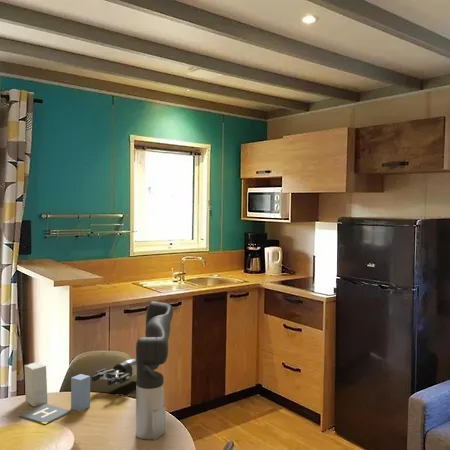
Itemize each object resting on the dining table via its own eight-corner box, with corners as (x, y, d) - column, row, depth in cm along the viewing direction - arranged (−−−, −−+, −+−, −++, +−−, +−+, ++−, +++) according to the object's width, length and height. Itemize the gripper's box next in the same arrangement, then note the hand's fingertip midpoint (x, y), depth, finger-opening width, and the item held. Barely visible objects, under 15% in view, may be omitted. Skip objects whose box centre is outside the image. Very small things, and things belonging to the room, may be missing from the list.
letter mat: (70, 412, 179) (70, 410, 179) (45, 424, 168) (45, 422, 168) (44, 404, 186) (44, 403, 185) (18, 416, 175) (18, 414, 175)
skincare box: (47, 403, 187) (47, 366, 186) (32, 407, 183) (32, 369, 182) (39, 397, 193) (39, 360, 192) (23, 401, 189) (24, 364, 188)
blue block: (90, 406, 184) (90, 376, 184) (80, 411, 180) (80, 380, 180) (80, 404, 187) (80, 373, 186) (71, 408, 182) (71, 377, 182)
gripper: (113, 358, 210) (87, 369, 196) (139, 363, 203) (113, 375, 189) (113, 375, 210) (87, 387, 196) (139, 381, 204) (113, 393, 189)
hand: (100, 381), depth 193 cm, fingers open, 8 cm apart
